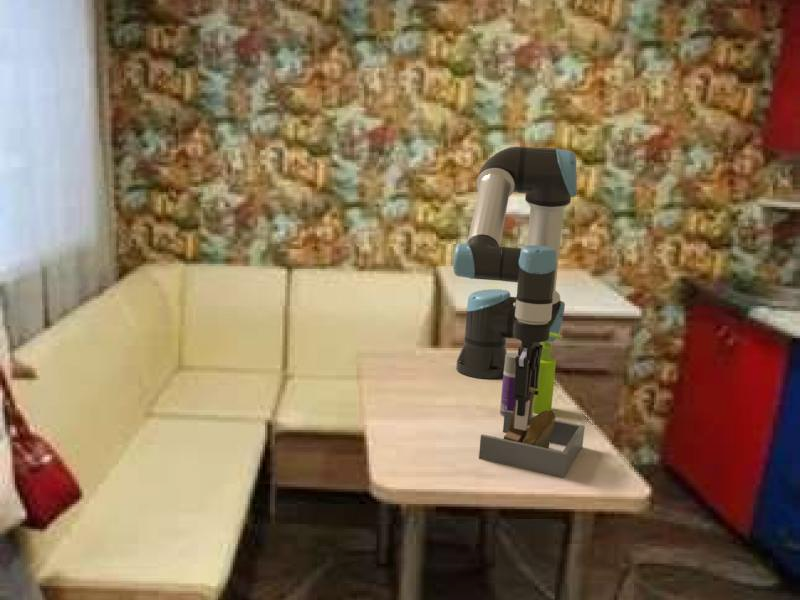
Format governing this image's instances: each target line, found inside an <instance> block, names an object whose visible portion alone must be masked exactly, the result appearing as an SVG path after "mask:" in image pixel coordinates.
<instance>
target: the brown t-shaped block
mask: <svg viewBox="0 0 800 600" xmlns="http://www.w3.org/2000/svg"><path fill="white" fill-rule="evenodd" d="M535 389H536V388H532V387H530V391H529V401H530V403H529V414H528V420H529V415H530V411H531V407H532V402H533V398H534V393H535ZM515 409H516V401H515V406H514V410H513V415H512V419H511V424H510V428H509V431H508V433H506V434H505V435H504V436H503V439H506V440H511V441H516V442H520V443H522V442H523V440H524V438H525V437H526V436H527V432H528V429H529V427H530V426H529V425H527V430H526V431H525V430H520V429H515V428H514V421H515Z"/></svg>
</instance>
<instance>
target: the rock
mask: <svg viewBox="0 0 800 600" xmlns="http://www.w3.org/2000/svg"><path fill="white" fill-rule="evenodd" d="M534 416H535V417H534V418H532V419H531V421H530V422H531V423H530V427H529V429H528V432H527V436H526V437H525V438H524V440H523V442H522V443H525V444H529V445H534V446H539V447H543V448H548V449H550V443H551V442H550V436H551V434H552V430H553V427H554V423H555V420H556V419H557V418H556V414H555V412H553V410H552V409H551V410H550V411H543V412H541V413H540V414H536V415H534Z"/></svg>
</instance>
